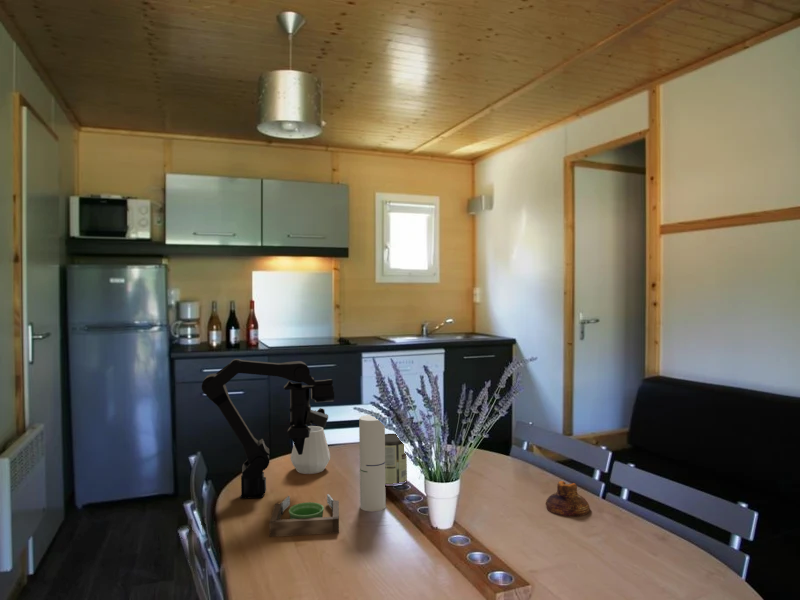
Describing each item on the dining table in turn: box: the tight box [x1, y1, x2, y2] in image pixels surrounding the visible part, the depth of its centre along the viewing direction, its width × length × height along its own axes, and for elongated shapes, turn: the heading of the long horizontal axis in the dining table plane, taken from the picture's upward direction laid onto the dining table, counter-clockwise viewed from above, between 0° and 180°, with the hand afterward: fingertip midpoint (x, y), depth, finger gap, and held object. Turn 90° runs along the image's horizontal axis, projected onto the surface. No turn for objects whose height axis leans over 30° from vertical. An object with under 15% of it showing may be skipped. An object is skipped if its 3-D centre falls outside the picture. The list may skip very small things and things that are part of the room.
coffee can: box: [385, 433, 408, 484], centre depth 177 cm, size 10×10×14 cm
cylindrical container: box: [358, 414, 387, 512], centre depth 156 cm, size 7×7×25 cm
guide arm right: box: [326, 493, 336, 513], centre depth 155 cm, size 6×1×3 cm, turn 22°
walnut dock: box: [268, 500, 340, 538], centre depth 144 cm, size 17×12×4 cm
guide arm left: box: [280, 495, 291, 516], centre depth 154 cm, size 6×1×3 cm, turn 170°
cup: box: [290, 425, 331, 475], centre depth 190 cm, size 13×13×14 cm
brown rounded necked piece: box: [545, 480, 591, 518], centre depth 154 cm, size 12×12×7 cm
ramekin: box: [288, 501, 325, 519], centre depth 144 cm, size 9×9×4 cm
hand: (300, 454), depth 170 cm, fingers closed
